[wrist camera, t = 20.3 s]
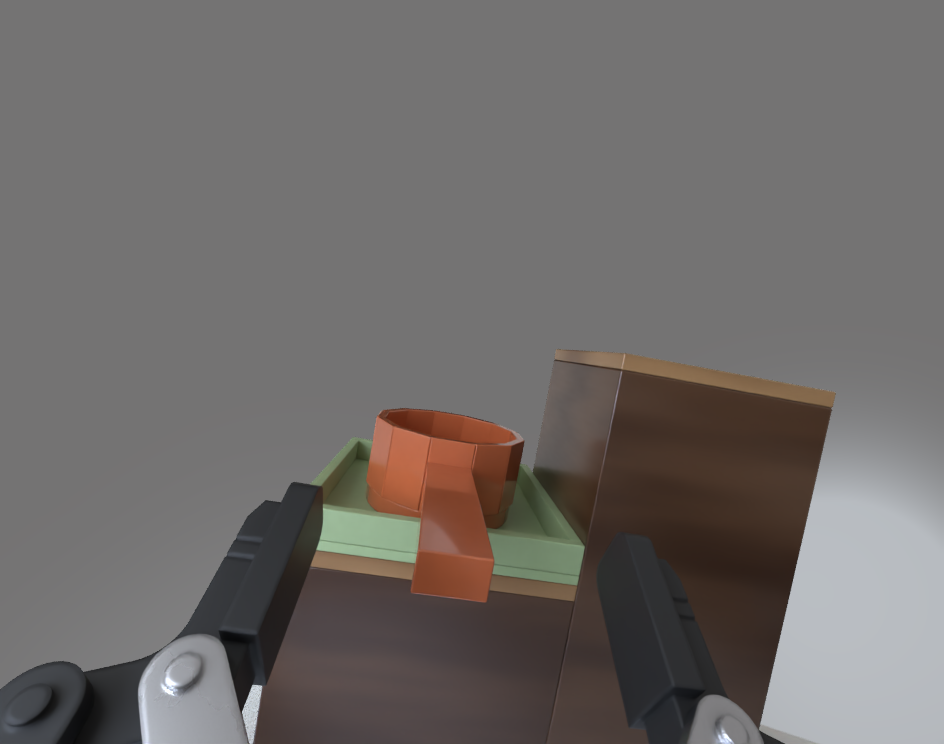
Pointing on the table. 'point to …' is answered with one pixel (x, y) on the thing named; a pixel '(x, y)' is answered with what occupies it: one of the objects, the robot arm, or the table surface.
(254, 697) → the table surface
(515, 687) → the stand
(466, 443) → the saucepan
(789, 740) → the table surface
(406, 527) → the tray
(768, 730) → the table surface
